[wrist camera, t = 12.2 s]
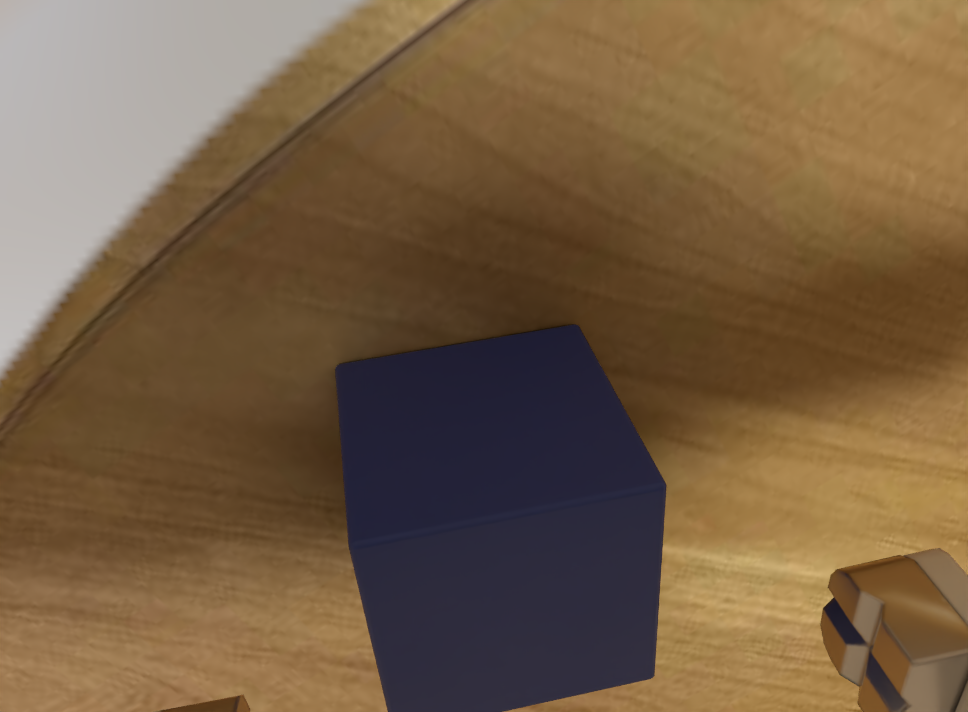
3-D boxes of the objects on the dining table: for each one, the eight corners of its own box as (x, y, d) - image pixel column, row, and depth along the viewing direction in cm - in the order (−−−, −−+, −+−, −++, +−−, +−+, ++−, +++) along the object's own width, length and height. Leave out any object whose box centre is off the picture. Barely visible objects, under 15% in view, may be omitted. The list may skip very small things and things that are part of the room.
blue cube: (371, 540, 17) (393, 738, 13) (333, 362, 15) (347, 546, 11) (581, 499, 17) (656, 679, 14) (578, 321, 15) (669, 484, 11)
